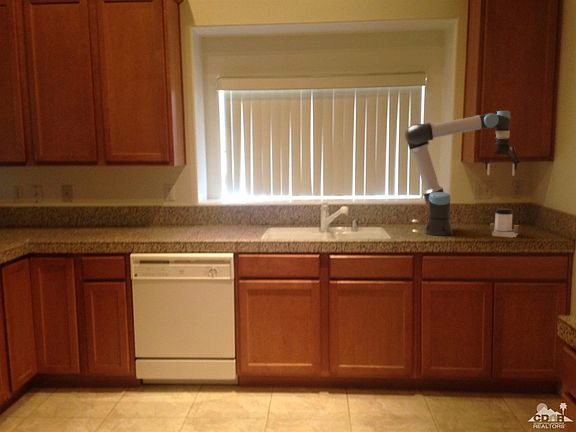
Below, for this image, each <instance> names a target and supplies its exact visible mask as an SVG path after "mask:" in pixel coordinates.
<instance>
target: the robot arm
mask: <svg viewBox="0 0 576 432" xmlns="http://www.w3.org/2000/svg"><path fill="white" fill-rule="evenodd" d="M496 112H497V114H496V113H492V112H489V113H486V114H477V115H475V116H471V117H470V116H469V117H464V118H459V119H453V120H448V121H443V122H439V123H431V122H428V123H415V124H411V125H409V126H408V127H407V128H406V130H405V131H404V132H405V133H404V138H405V141H406V142H407V145H408V148H409V151H412V153H413V156H414V158H415V163H416V165H417V169H418V172H419V175H420V179H421V181H422V186H423V188H424V191H423V193H422V194H423V196H424V198H423V199H424V202H425V206H426V208H427V209H428V219H427V220H428V221H427V223H426V226H425V229H424V234H426V235H431V236H450V235H453V228H452V225H451V222H450V220H451V219H450V217H451V216H450V215H451V201H452V200H451V194H450V193H448V192H445V191H444V188H443V187H442V186H440V184H439V181H438V177H437V175H436V171H435V168H434V164H433V161H432V158H431V155H430V151H429V148H428V146H429V145H430V142H429V141H433V140H434V139H436V138H440V137H445V136H446V137H447V136H451V135H457V134H461V133H462V134H463V133H469V132H472V131H478V130H485V129H495V134H496V137H495V139H496V138H497V139H496V143H495V142H494V146H495V145H498V146H499V147H498V149H497V151H494V153H493V154H495V155H496V154H497V155H503V156H505V155H506V156H508V158H509V159H510V161H512V162H513V164H512V175H511V176H512V177H513V176H515V173H516V172H515V171H516V170H517V169H518V164H520V163H521V160H520V157H519V156H518V153H517V151H516V147H515V146H510V134H511V133H510V129H511V111H510V110H499V111H496ZM501 130H508V131H501ZM509 151H511V152H512V153H513V155H511V153H510V152H509ZM497 155H496V156H497ZM513 156H514V157H513ZM486 161H487V160H486ZM490 162H491V161H487V162H483V161H482V163H483V164H485V170H487V172H486V174H487V176H490V173H491V172H490V170H491V169H490V168H491V167H490V166H491V163H490Z"/></svg>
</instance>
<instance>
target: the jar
mask: <svg viewBox="0 0 576 432" xmlns="http://www.w3.org/2000/svg"><path fill="white" fill-rule="evenodd" d="M495 211H496V212H495V217H494V224H495V225H494V229H495V230H497V231H512V230H513V228H512V227H513V209H512V208H505V207H504V208H503V207H500V208H496V210H495Z"/></svg>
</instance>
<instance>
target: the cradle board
mask: <svg viewBox="0 0 576 432" xmlns="http://www.w3.org/2000/svg"><path fill="white" fill-rule="evenodd" d="M489 225H490V226H489V227H490V229H489V232H491V236H492V237H501V238H502V237H504V238H513V237H515V238H517V236H518V235H519V226H520V225H519V224H517V225H516V224H513V227H514V228H513V229H512V231H497V230H495V223H490V224H489Z"/></svg>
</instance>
